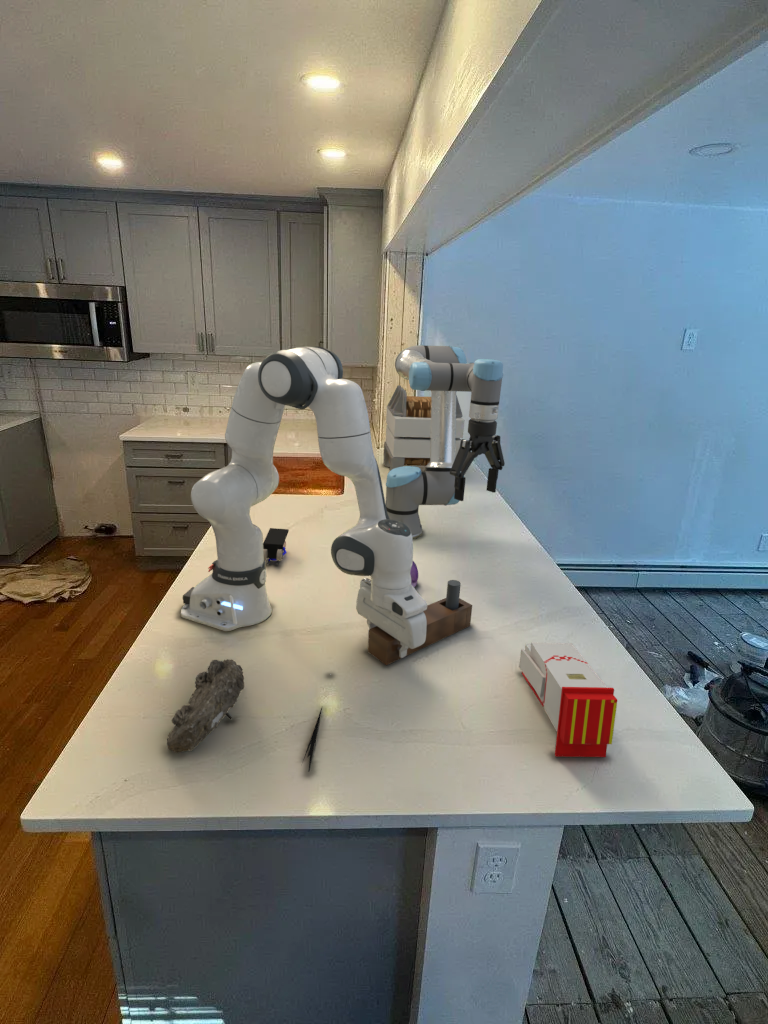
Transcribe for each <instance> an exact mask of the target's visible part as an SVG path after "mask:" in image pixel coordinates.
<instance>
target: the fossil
mask: <svg viewBox="0 0 768 1024" xmlns="http://www.w3.org/2000/svg"><path fill="white" fill-rule="evenodd" d="M243 670H244V669H243V667H242V665H240V664H237V662H236V661H235V660H234V659H232V658H231V659H227V658H226V659H224V660H223V661H222V660H217V659H212V660H211V661H210V663H209V665H208V666H207V671H201V672H199V673H198V674H197V675H196V676H195V680H194V684H195V685H194V687H195V689H194V690H193V693H192V694H191V697H190V698H189V700H188V704H184V705H182V706H181V707H180V709H177V710H176V711H175V713H174V715H173V716H172V718H171V723H172V724H173V727H172V730H171V731H170V732H168V734H167V738H166V741H167V742H166V745H167V749H168V750H169V751H173V752H174V753H176V754H178V753H182V752H188V751H189V752H192V751H193V750H195V748H196V747H197V746H199V744H200V743H201V742H203V741H204V740H205V739H206V738H207V737H208V736H209V735H210V734H211V733H212V732H214V730H215V729H217V727H218V726H219V724H220V722H221V721H222V720H223V719H224V718H225V716H226V717H227V719H229V720H233V717H232V715H230V714H229V710H230V709H231V708H234V706H235V704H236V703H237V702H238V699H239V697H240V695H241V693H242V691H243V690H245V689H244V688H245V675H244V671H243Z"/></svg>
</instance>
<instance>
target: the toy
mask: <svg viewBox="0 0 768 1024" xmlns="http://www.w3.org/2000/svg"><path fill="white" fill-rule="evenodd" d="M518 668H519V670H520V671H521V675H522V677H523V678H524V680H525V681H526V683H527V684H528V686H529V687H530V689H531V691H532V692H533V693H534V696H535V697H536V699H537V700H538V702H539V703H540V705H541V706H542V707H543V711H544V712H545V713H546V715H547V717H548V719H549V721H550V722H551V724H552V726H553V727H554V730H555V732H556V739H555V748H554V749H555V750H554V756H555V757H561V758H562V757H563V758H564V757H567V758H568V757H569V758H570V757H571V758H573V757H574V758H576V757H577V758H606V757H607V749H608V745H613V739H614V738H613V737H614V729H615V724H616V723H615V722H616V714H617V707H618V698H617V697H616V696H615V695H614V694H615V688H614V687H607V685H606V684H605V682H604V681H603V680H602V679H601V678H600V677H599V675H598V673H596V672H595V670H594V669H593V668H592V666H590V664H589V663H588V662H587V660H586V659H585V658H584V657H583V655H582V654H581V653H580V652H579V651H578V649H577V648H576V647H575V646H574V645H573V643H572V642H531V643H525V644H524V648H520V655H519V662H518Z"/></svg>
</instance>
